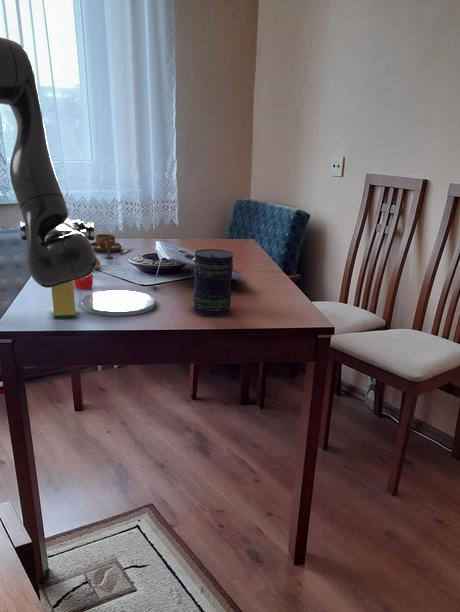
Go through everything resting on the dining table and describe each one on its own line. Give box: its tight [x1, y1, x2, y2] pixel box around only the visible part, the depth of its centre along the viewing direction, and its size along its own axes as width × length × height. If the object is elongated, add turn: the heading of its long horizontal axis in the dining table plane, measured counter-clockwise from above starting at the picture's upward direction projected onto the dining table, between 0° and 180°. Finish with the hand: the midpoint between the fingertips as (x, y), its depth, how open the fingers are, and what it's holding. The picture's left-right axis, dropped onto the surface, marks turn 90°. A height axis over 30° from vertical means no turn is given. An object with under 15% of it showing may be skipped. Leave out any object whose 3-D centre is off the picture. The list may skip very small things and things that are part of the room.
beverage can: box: [73, 273, 94, 291], centre depth 156 cm, size 5×5×12 cm
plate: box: [80, 290, 156, 317], centre depth 145 cm, size 19×19×1 cm
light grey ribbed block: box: [152, 240, 247, 288], centre depth 178 cm, size 45×27×12 cm, turn 12°
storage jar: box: [192, 248, 234, 318], centre depth 141 cm, size 10×10×15 cm
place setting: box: [90, 233, 132, 260], centre depth 201 cm, size 18×20×6 cm
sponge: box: [50, 281, 77, 320], centre depth 134 cm, size 5×5×9 cm
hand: (56, 224), depth 116 cm, fingers open, 8 cm apart
